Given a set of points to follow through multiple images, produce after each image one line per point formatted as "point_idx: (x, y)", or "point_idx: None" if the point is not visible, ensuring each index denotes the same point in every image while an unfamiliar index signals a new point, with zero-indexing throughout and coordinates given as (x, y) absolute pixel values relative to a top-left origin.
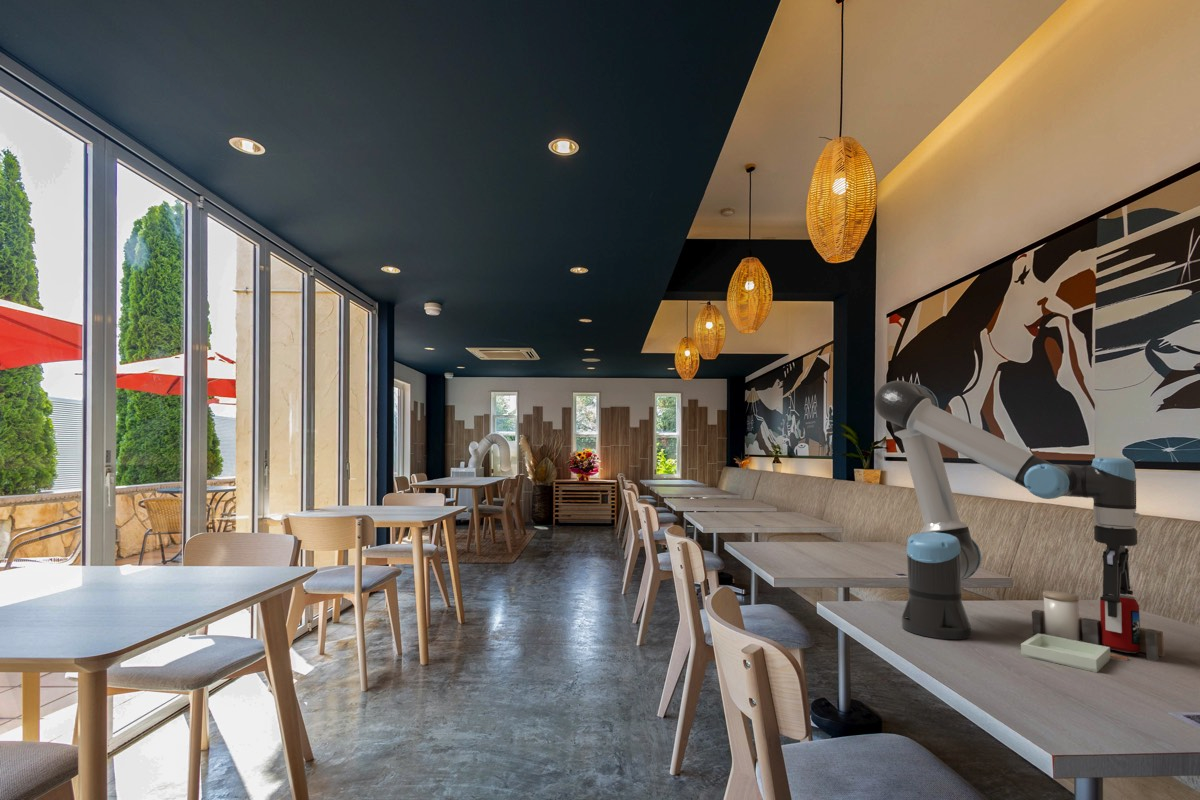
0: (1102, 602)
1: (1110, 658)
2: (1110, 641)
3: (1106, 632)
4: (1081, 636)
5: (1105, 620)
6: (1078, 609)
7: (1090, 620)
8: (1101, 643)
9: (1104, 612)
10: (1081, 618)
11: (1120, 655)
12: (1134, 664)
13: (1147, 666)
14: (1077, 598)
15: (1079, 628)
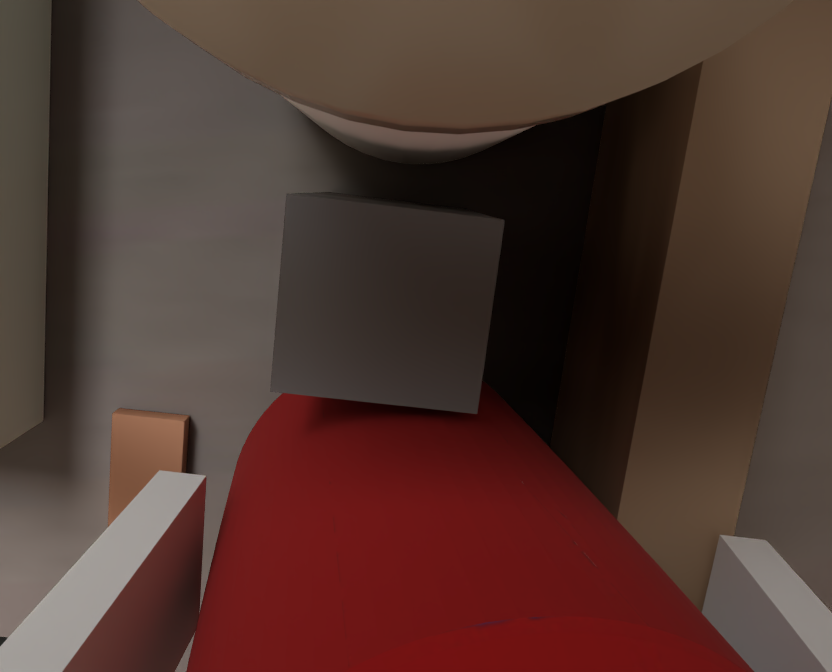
0: (303, 658)
1: (38, 422)
2: (243, 454)
3: (262, 453)
4: (610, 158)
5: (103, 537)
6: (409, 136)
7: (370, 303)
8: (570, 328)
9: (265, 568)
10: (751, 154)
11: None
12: (34, 575)
13: None
14: (330, 106)
15: (404, 154)
